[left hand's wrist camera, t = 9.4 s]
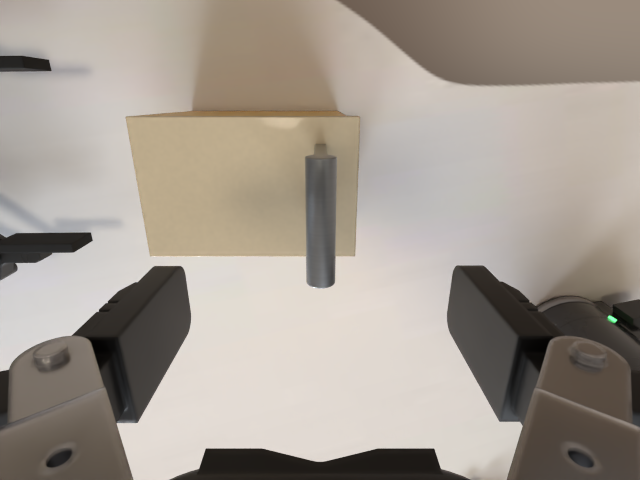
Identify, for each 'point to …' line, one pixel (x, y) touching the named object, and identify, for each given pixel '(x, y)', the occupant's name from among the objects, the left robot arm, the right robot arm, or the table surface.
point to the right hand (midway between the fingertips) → (62, 160)
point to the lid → (249, 186)
